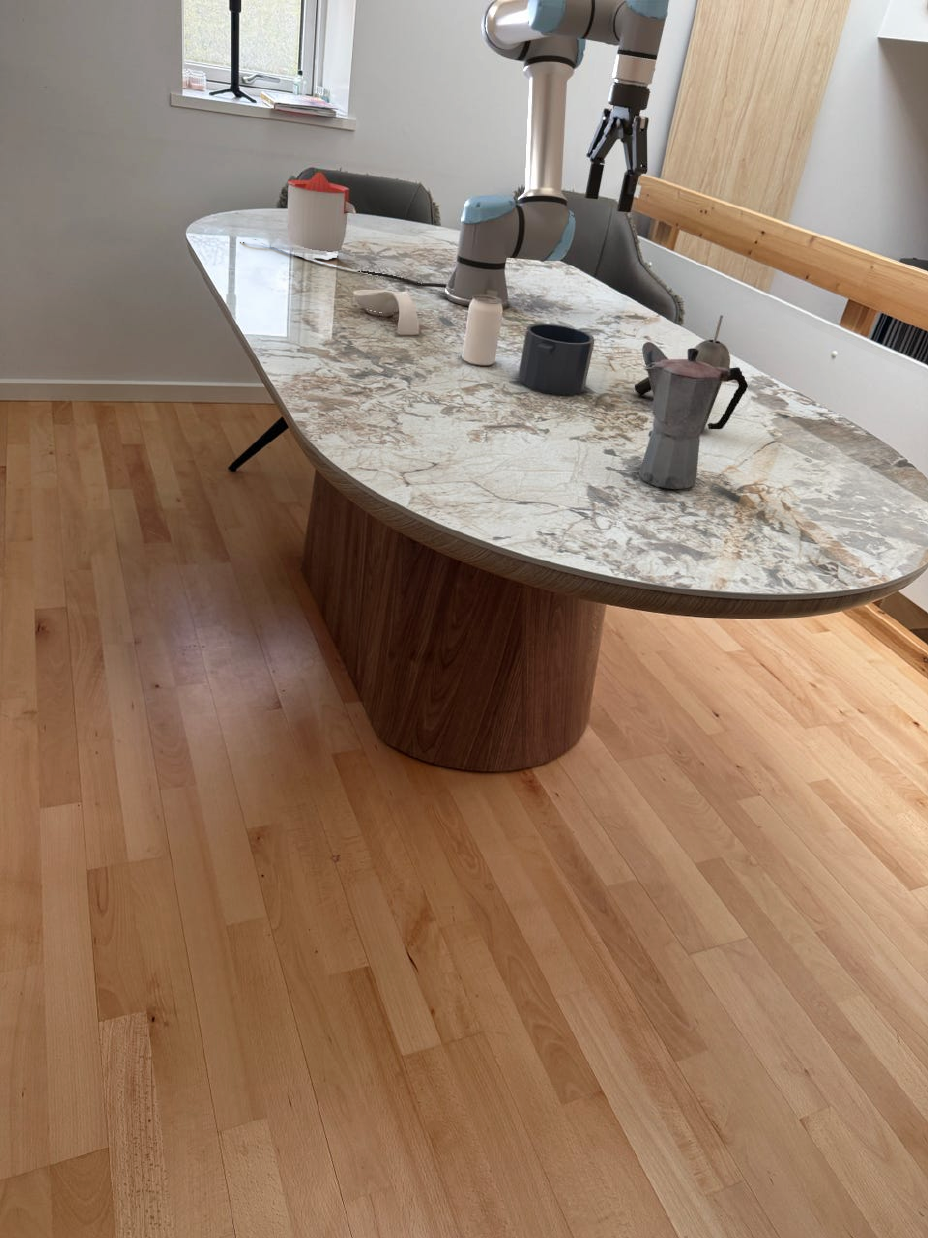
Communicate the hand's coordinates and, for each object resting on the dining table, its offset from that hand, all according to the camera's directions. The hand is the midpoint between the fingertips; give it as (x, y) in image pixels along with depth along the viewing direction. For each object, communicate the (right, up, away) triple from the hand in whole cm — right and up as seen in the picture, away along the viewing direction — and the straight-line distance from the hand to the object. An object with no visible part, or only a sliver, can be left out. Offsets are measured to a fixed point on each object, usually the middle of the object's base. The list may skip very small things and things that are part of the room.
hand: (606, 204), depth 186 cm
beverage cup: (+12, -49, -21) cm, 55 cm away
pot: (-12, -39, -10) cm, 42 cm away
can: (-26, -33, -4) cm, 42 cm away
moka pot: (+3, -62, -44) cm, 76 cm away
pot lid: (+9, -37, -12) cm, 40 cm away
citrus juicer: (-67, +11, +56) cm, 88 cm away
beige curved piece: (-45, -19, +13) cm, 50 cm away
